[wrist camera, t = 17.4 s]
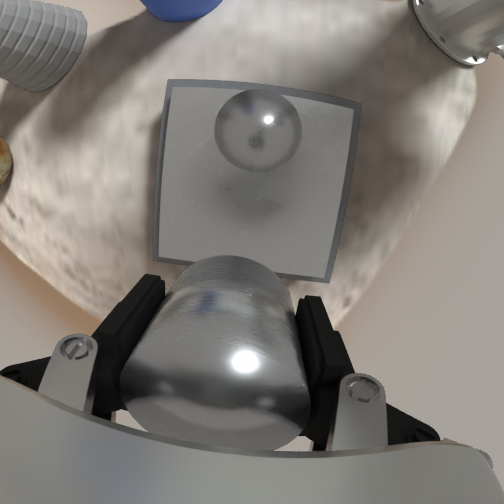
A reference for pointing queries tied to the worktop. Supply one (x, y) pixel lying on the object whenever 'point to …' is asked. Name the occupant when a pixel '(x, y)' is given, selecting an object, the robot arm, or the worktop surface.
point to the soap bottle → (38, 42)
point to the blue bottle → (180, 9)
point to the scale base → (281, 91)
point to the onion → (4, 160)
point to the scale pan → (251, 188)
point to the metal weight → (258, 130)
